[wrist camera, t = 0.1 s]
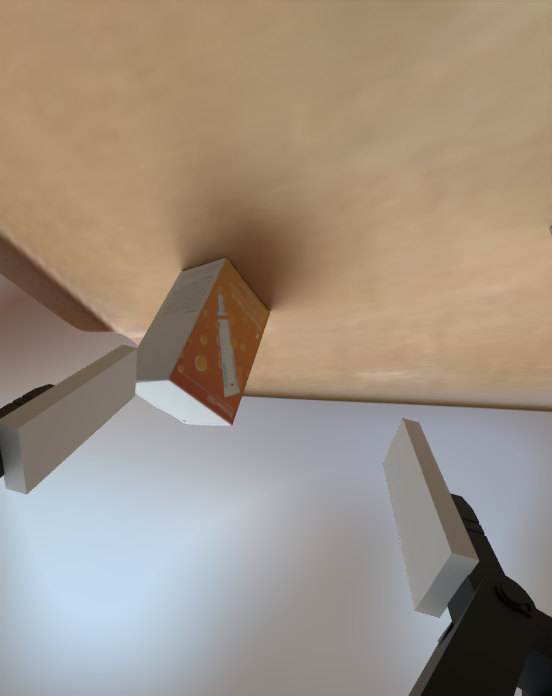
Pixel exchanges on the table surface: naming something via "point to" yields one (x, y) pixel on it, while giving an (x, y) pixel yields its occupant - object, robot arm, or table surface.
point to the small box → (202, 345)
